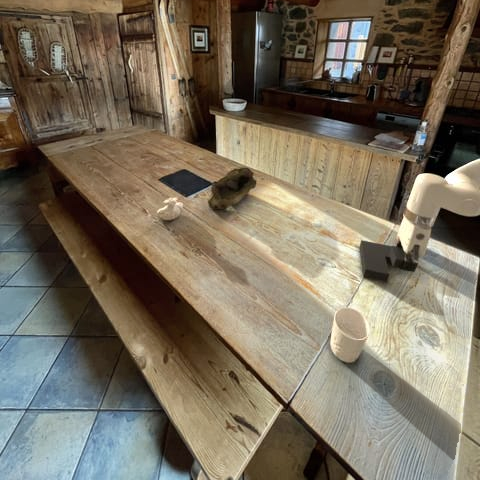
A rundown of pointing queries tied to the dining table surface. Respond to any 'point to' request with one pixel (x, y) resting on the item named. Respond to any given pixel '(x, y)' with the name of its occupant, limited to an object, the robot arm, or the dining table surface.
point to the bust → (170, 209)
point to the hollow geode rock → (231, 188)
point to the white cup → (349, 334)
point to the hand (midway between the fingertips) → (402, 261)
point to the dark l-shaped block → (375, 260)
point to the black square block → (399, 257)
